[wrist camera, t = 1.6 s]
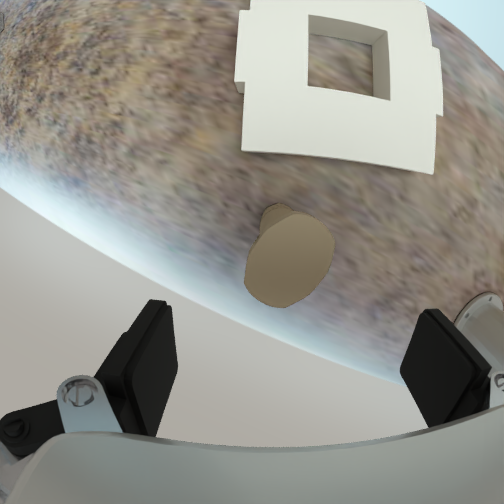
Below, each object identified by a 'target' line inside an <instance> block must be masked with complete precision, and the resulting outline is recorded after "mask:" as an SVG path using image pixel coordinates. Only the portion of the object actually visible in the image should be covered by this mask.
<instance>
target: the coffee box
mask: <svg viewBox="0 0 504 504" xmlns="http://www.w3.org/2000/svg"><path fill="white" fill-rule="evenodd" d="M3 29H4V18H3V13H1V12H0V33H1V31H2V30H3Z"/></svg>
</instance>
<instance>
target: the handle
mask: <svg viewBox="0 0 504 504" xmlns="http://www.w3.org/2000/svg"><path fill="white" fill-rule="evenodd" d="M259 230H260V235H259V236H258V237H257V239H256V240H255V242H254V243H253V245H252V247H251V248H250V251H249V254H248V259H247V264H246V271H245V278H244V284H245V286H246V288H247V290H248V291H249V293H250V294H251V295H252V296H253V297H255V298H256V299H257V300H259V301H260V302H262V303H264V304H266V305H269V306H272V307H277V308H286V307H288V306H290V305H292V304H294V303H296V302H298V301H300V300H302V299H303V298H305V297H306V296H308V295H309V294H310V293H311V292H312V291H313V290H314V289H315V288H316V287H317V286H318V284H319V283H320V282H321V281H322V279H323V278H324V277H325V275H326V274H327V272H328V270H329V268H330V265H331V261H332V257H333V253H334V249H335V241H334V238H333V236H332V234H331V232H330V231H329V230H328V229H327V227H326V226H325V225H324V224H323V223H321V222H320V221H319V220H318V219H316V218H315V217H313V216H311V215H309V214H307V213H304V212H299V211H294V210H292V209H291V208H290V207H288V206H286V205H283V204H282V203H277V204H275V205H272V206H270V207H267V208H266V209H265V211H264V213H263V215H262V217H261V221H260V229H259Z"/></svg>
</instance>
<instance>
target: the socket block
mask: <svg viewBox="0 0 504 504" xmlns="http://www.w3.org/2000/svg"><path fill="white" fill-rule="evenodd" d="M308 34H315V35H321V36H328V37H334V38H339V39H345V40H350V41H354V42H359V43H363V44H368V45H372V60H373V97H371V96H366V95H361V94H356V93H351V92H345V91H339V90H333V89H326V88H319V87H311V86H307V79H308ZM234 82H235V85H236V87H237V90H238V93H244V110H243V128H242V148H241V151H244V152H256V153H273V154H287V155H299V156H309V157H319V158H328V159H337V160H344V161H352V162H359V163H366V164H372V165H378V166H384V167H390V168H396V169H401V170H407V171H412V172H419V173H425V174H432V175H433V172H434V160H435V142H436V117H442V116H443V91H442V75H441V63H440V54H439V49H437V48H435V47H432V42H431V35H430V28H429V22H428V16H427V11H426V6H425V3H424V2H421V1H419V0H251V2H250V10H240V13H239V25H238V37H237V51H236V64H235V79H234Z"/></svg>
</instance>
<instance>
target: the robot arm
mask: <svg viewBox="0 0 504 504" xmlns="http://www.w3.org/2000/svg"><path fill="white" fill-rule="evenodd" d="M177 370H178V362H177V354H176V345H175V336H174V327H173V317H172V307H171V306H170V305H167V303H166V301H161V300H152V299H151V300H149V301H148V302H147V304H146V305H145V307H144V308H143V309H142V311H141V312H140V314H139V315H138V317H137V318H136V320H135V321H134V322H133V324H132V325H131V327H130V328H129V330H128V331H127V332H124V333H123V334H122V335H121V337H120V338H119V340H118V341H117V342H116V344H115V346H114V347H113V348H112V350H111V351H110V353H109V354H108V356H107V357H106V359H105V360H104V362H103V363H102V365H101V367H100V368H99V370H98V371H97V373H96V374H95V376H94V377H90V376H85V375H79V376H73V377H71V378H68V379H67V380H65V381H64V382H63V383H62V384H61V385H60V386H59V388H58V390H57V399H56V400H53V401H49V402H46V403H43V404H39V405H36V406H32V407H29V408H25V409H21V410H17V411H13V412H11V413H8V414H6V415H5V416H4V417H3V418H2V419H1V420H0V504H504V312H503V303H502V300H501V299H500V297H499V296H497V295H496V294H494V293H492V292H487V293H483V294H481V295H479V296H477V297H476V298H474V299H473V300H472V301H471V302H470V303H469V304H468V305H467V306H466V307H465V308H464V309H463V310H462V312H461V313H460V315H459V316H458V318H457V319H456V321H455V323H454V324H453V323H452V322H451V321H450V320H449V319H448V318H447V317H446V316H445V315H444V314H443V313H442V312H441V311H440V310H439V309H425V310H424V311H423V313H421V314H420V315H419V318H418V321H417V324H416V327H415V330H414V333H413V335H412V338H411V341H410V343H409V346H408V349H407V351H406V354H405V356H404V359H403V361H402V364H401V366H400V374H401V376H402V378H403V380H404V382H405V383H406V385H407V387H408V389H409V391H410V393H411V394H412V396H413V398H414V400H415V402H416V404H417V406H418V408H419V410H420V412H421V414H422V416H423V418H424V419H425V422H426V424H427V425H428V427H429V428H427V429H423V430H419V431H415V432H410V433H406V434H401V435H396V436H391V437H386V438H380V439H374V440H368V441H361V442H354V443H345V444H335V445H324V446H308V447H281V448H280V447H241V446H226V445H213V444H201V443H193V442H185V441H178V440H171V439H164V438H157V437H156V434H157V431H158V428H159V425H160V422H161V419H162V416H163V413H164V410H165V406H166V403H167V401H168V398H169V395H170V392H171V389H172V386H173V383H174V380H175V377H176V374H177Z"/></svg>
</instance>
